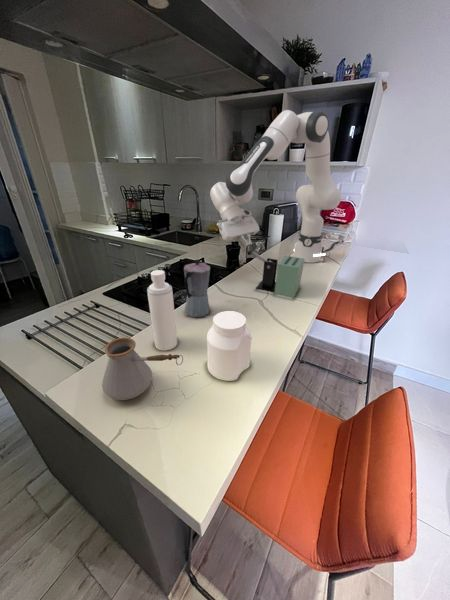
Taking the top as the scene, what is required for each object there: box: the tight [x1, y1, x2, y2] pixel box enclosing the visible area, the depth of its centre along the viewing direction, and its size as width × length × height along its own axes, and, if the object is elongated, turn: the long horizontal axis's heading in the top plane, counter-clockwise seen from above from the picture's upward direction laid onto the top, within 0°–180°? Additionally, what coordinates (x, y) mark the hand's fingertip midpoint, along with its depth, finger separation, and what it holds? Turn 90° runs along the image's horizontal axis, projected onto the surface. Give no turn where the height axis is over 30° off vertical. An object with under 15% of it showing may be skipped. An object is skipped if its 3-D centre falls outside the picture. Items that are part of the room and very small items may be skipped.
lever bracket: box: [255, 257, 279, 294], centre depth 110 cm, size 8×10×13 cm
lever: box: [247, 248, 272, 263], centre depth 109 cm, size 12×5×2 cm, turn 65°
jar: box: [206, 310, 253, 382], centre depth 67 cm, size 12×10×15 cm
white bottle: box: [146, 269, 178, 351], centre depth 72 cm, size 7×7×25 cm
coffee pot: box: [101, 337, 184, 401], centre depth 58 cm, size 21×12×15 cm, turn 69°
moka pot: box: [183, 259, 211, 318], centre depth 90 cm, size 10×15×20 cm, turn 164°
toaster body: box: [274, 255, 305, 299], centre depth 107 cm, size 8×12×14 cm, turn 154°
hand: (248, 245), depth 109 cm, fingers closed
